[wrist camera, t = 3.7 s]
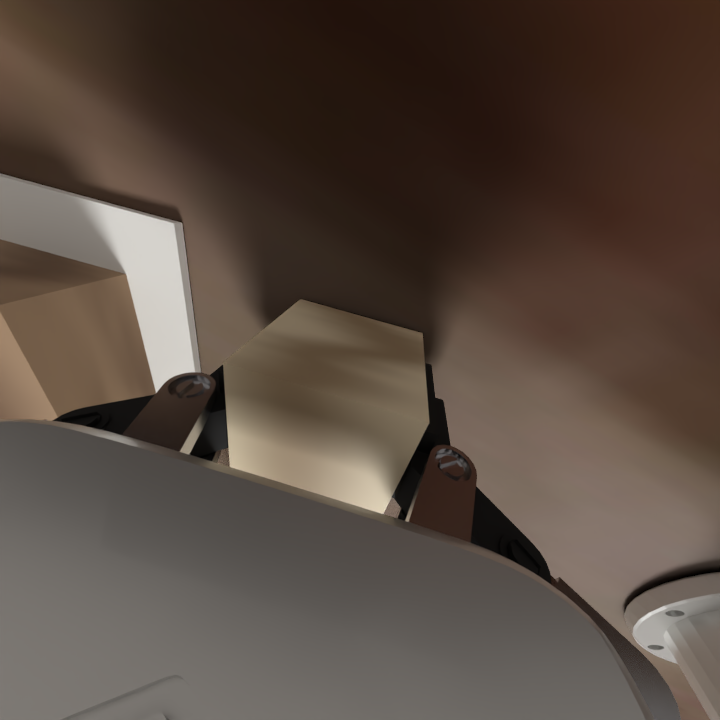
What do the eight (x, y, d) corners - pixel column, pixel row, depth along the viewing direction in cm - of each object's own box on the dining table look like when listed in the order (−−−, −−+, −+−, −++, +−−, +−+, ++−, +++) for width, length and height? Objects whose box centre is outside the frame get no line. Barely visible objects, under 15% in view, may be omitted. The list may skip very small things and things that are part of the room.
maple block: (422, 333, 10) (429, 422, 6) (387, 422, 13) (375, 529, 9) (300, 298, 10) (222, 362, 6) (290, 394, 13) (231, 484, 9)
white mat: (182, 222, 10) (174, 223, 9) (209, 437, 16) (205, 442, 16) (-114, 142, 10) (-132, 140, 10) (26, 384, 16) (18, 387, 16)
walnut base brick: (126, 274, 11) (-4, 305, 7) (157, 399, 15) (80, 459, 11) (-31, 230, 11) (-228, 241, 8) (39, 365, 15) (-72, 414, 11)
